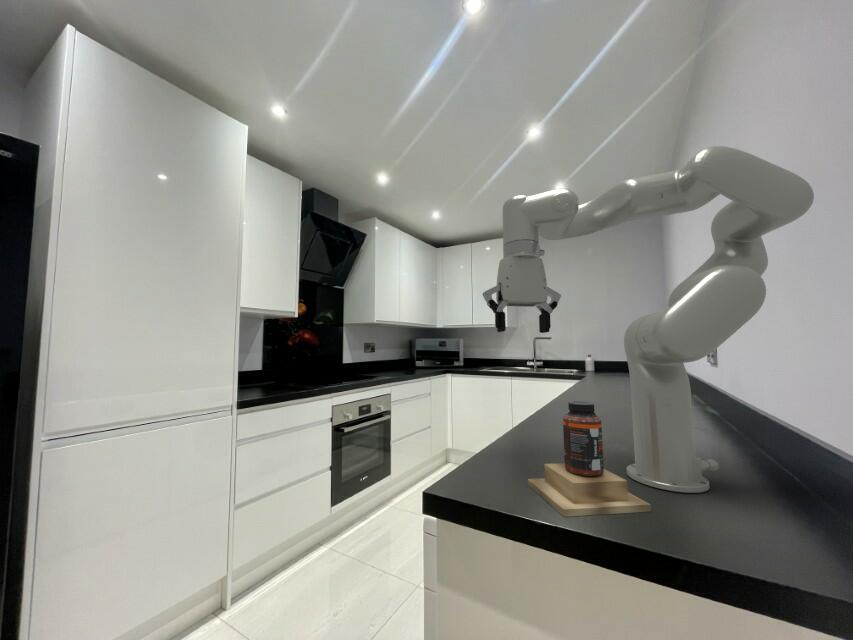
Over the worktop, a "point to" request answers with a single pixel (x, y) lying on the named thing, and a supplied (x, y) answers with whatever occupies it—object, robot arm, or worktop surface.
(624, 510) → the oak base
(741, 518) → the worktop surface
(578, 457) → the supplement bottle
